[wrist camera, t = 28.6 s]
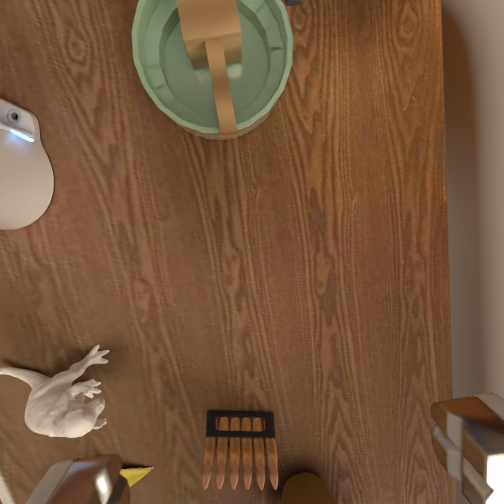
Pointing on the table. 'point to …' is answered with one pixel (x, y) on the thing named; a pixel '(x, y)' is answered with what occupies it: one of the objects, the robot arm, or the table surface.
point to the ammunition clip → (251, 427)
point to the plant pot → (306, 490)
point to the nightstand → (292, 2)
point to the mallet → (214, 48)
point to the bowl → (199, 80)
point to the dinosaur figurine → (62, 399)
